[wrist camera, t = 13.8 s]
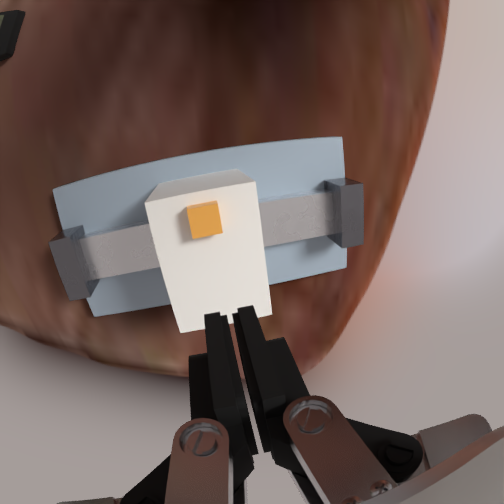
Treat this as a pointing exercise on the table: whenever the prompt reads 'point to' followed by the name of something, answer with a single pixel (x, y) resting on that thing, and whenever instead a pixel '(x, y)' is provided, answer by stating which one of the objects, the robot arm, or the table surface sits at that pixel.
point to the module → (210, 246)
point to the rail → (272, 222)
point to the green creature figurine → (9, 31)
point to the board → (238, 157)
